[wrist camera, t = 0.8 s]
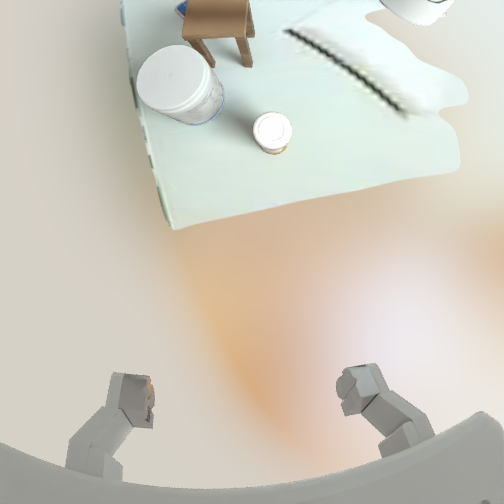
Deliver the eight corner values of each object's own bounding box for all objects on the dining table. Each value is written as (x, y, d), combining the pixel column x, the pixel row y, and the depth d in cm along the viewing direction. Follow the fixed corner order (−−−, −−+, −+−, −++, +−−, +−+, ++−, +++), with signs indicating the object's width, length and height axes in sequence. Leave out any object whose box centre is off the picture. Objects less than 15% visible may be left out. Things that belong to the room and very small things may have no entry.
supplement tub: (162, 109, 43) (120, 90, 28) (194, 67, 40) (164, 33, 26) (204, 137, 44) (173, 124, 29) (238, 93, 41) (222, 62, 27)
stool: (210, 32, 38) (189, -7, 24) (256, 31, 37) (248, -11, 24) (206, 69, 40) (181, 36, 27) (253, 68, 39) (244, 32, 26)
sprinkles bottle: (293, 138, 42) (299, 125, 30) (276, 160, 44) (277, 156, 31) (269, 122, 42) (267, 103, 29) (253, 144, 43) (244, 134, 30)
